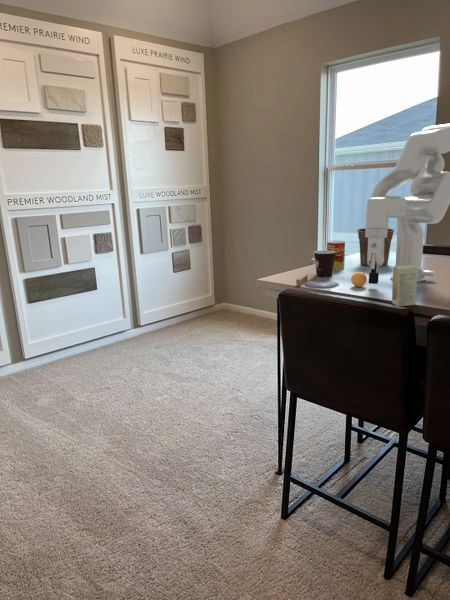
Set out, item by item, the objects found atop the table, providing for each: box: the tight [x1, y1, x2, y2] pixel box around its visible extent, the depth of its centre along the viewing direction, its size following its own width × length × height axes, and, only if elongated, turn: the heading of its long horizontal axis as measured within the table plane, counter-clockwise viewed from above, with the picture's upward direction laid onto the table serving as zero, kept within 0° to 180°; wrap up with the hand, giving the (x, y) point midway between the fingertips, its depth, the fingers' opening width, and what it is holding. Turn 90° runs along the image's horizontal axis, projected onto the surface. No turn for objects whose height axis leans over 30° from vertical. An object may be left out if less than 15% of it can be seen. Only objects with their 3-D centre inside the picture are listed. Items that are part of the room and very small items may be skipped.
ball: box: [350, 271, 368, 288], centre depth 167 cm, size 6×6×6 cm
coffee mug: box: [313, 250, 335, 278], centre depth 190 cm, size 12×9×10 cm
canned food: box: [326, 240, 346, 270], centre depth 203 cm, size 8×8×12 cm
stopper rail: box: [295, 274, 309, 287], centre depth 177 cm, size 2×10×2 cm, turn 154°
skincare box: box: [391, 265, 418, 307], centre depth 142 cm, size 6×4×12 cm
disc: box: [304, 279, 340, 289], centre depth 174 cm, size 13×13×1 cm
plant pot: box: [356, 227, 395, 267], centre depth 207 cm, size 16×16×16 cm
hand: (373, 283), depth 165 cm, fingers closed
